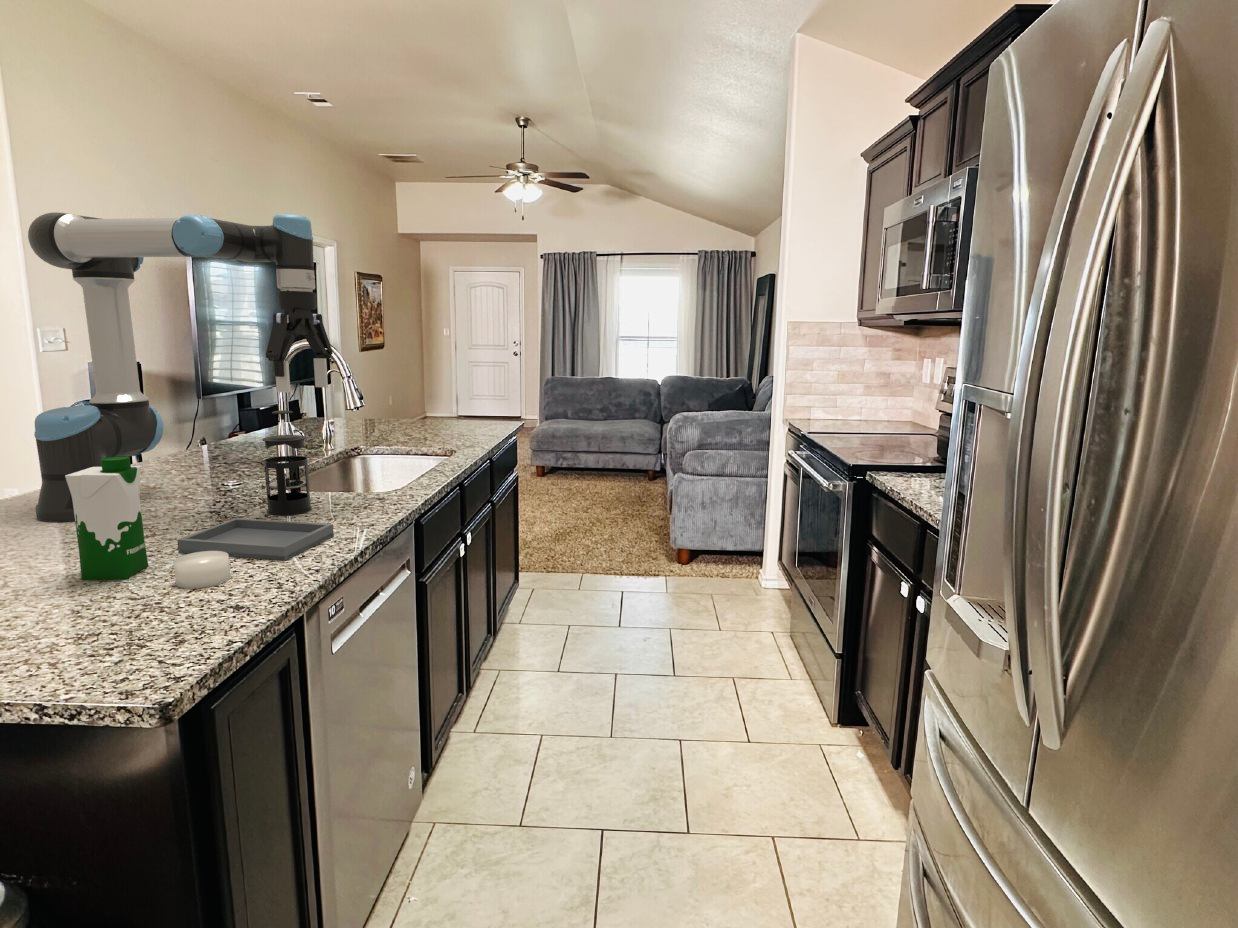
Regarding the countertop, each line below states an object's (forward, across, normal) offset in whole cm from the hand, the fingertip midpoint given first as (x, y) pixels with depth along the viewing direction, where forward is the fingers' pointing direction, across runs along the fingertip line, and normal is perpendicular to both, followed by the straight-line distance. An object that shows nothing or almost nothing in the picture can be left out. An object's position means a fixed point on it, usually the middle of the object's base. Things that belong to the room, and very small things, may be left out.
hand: (303, 389), depth 163 cm
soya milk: (+28, -44, +8) cm, 53 cm away
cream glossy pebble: (+28, -44, -9) cm, 53 cm away
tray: (+28, -24, -5) cm, 37 cm away
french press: (+28, +1, +6) cm, 29 cm away
